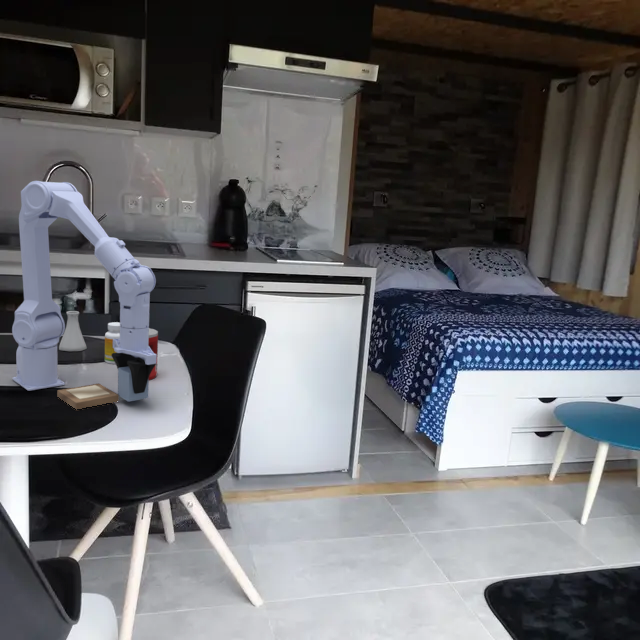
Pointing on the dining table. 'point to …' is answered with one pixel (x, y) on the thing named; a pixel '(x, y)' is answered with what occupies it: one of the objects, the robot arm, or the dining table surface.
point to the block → (128, 386)
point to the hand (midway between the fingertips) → (133, 389)
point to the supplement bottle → (111, 340)
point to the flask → (72, 334)
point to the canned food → (153, 349)
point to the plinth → (87, 396)
